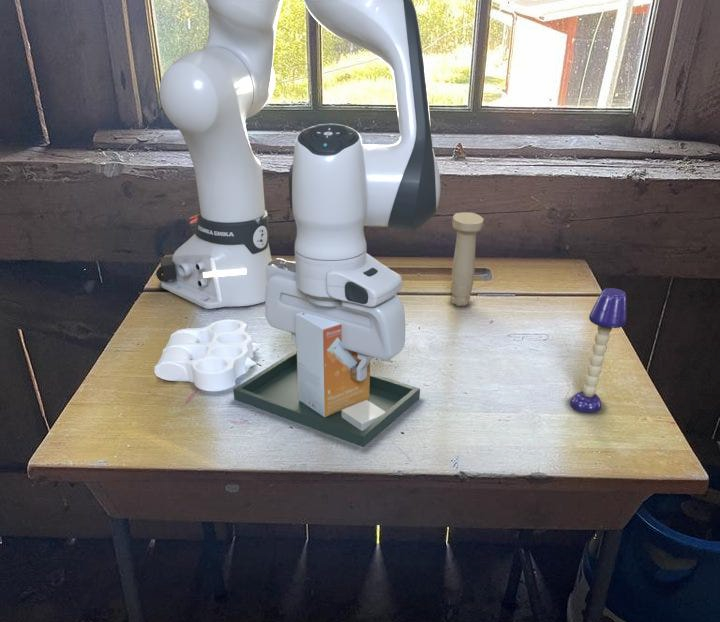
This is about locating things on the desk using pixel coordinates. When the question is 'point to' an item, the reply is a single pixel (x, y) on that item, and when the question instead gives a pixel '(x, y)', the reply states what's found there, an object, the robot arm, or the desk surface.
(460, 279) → the handle
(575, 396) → the toy lamp
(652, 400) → the desk surface
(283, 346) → the desk surface
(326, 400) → the small box
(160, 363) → the white brass knuckles
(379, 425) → the tray
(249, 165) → the robot arm
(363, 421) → the chalk block
